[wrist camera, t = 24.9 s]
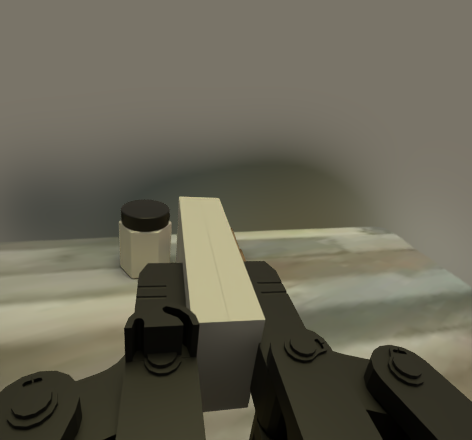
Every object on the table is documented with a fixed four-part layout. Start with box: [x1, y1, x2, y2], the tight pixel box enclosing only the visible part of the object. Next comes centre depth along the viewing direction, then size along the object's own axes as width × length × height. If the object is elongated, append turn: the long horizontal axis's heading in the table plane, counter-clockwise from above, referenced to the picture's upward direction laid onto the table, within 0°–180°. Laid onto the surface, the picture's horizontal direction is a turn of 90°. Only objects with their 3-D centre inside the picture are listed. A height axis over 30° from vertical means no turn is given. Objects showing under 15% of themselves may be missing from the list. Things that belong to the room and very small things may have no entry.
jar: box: [119, 200, 171, 278], centre depth 59 cm, size 9×8×12 cm
